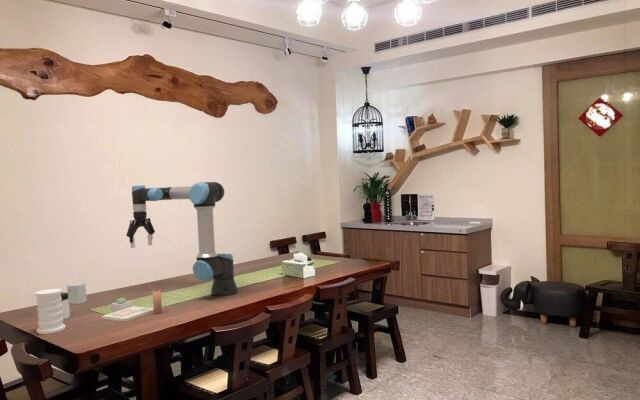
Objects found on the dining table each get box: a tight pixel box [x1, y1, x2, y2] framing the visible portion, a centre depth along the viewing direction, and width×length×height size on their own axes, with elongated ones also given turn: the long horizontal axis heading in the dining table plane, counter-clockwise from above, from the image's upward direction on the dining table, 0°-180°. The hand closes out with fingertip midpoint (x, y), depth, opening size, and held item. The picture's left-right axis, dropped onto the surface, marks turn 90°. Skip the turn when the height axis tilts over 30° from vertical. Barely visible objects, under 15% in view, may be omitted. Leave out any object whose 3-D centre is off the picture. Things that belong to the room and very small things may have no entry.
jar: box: [61, 292, 71, 320], centre depth 251 cm, size 9×8×12 cm
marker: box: [152, 288, 163, 315], centre depth 253 cm, size 4×4×12 cm
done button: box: [116, 297, 127, 304], centre depth 265 cm, size 4×4×4 cm
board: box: [101, 305, 154, 322], centre depth 253 cm, size 16×20×1 cm
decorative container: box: [34, 288, 66, 335], centre depth 230 cm, size 12×12×18 cm
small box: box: [66, 282, 87, 305], centre depth 284 cm, size 8×6×10 cm
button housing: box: [110, 300, 133, 312], centre depth 265 cm, size 7×7×4 cm
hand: (141, 246), depth 302 cm, fingers open, 13 cm apart
